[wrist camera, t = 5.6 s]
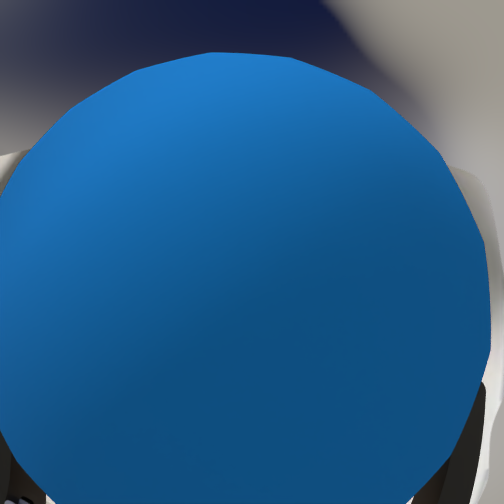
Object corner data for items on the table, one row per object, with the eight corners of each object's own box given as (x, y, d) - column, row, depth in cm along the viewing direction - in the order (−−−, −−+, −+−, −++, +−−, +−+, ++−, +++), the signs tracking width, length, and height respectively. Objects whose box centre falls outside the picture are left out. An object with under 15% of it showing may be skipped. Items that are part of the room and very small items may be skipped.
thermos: (329, 367, 27) (530, 451, 3) (222, 398, 26) (48, 553, 3) (295, 261, 30) (341, 20, 6) (191, 293, 30) (-17, 155, 6)
